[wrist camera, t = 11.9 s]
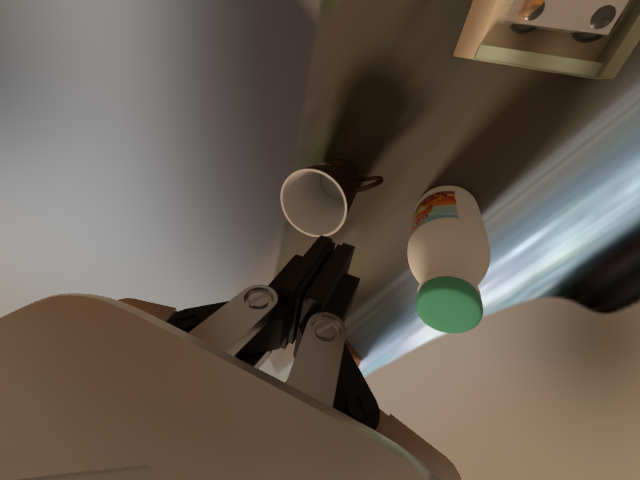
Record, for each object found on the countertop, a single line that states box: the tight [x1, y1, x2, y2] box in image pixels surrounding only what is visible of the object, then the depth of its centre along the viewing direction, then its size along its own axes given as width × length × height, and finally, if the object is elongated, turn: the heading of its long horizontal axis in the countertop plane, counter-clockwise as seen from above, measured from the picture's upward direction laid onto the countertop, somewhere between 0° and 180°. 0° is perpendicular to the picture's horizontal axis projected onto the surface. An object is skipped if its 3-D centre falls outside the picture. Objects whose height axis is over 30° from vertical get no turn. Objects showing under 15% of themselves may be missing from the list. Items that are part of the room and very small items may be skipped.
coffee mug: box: [280, 159, 383, 237], centre depth 35 cm, size 12×9×10 cm
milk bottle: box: [408, 185, 490, 333], centre depth 28 cm, size 8×8×20 cm
